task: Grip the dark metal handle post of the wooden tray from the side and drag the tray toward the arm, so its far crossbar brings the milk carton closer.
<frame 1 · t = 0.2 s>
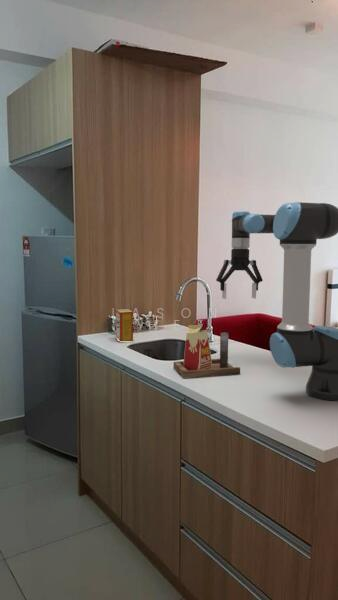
hand: (239, 298, 207), 27 cm above the worktop, tool pointing down, fingers open, 13 cm apart
baking soda box: (124, 341, 249), on the worktop
wooden tray: (206, 352, 193), point 8 cm above the worktop, slide at 0.2 cm
milk carton: (196, 372, 193), resting in wooden tray
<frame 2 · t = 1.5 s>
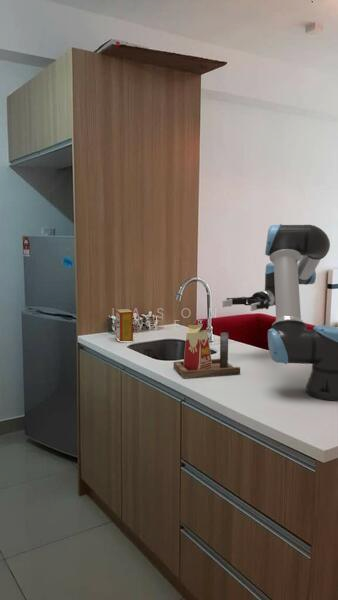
hand: (237, 305, 199), 25 cm above the worktop, tool horizontal, fingers open, 13 cm apart
nothing on the worktop moved.
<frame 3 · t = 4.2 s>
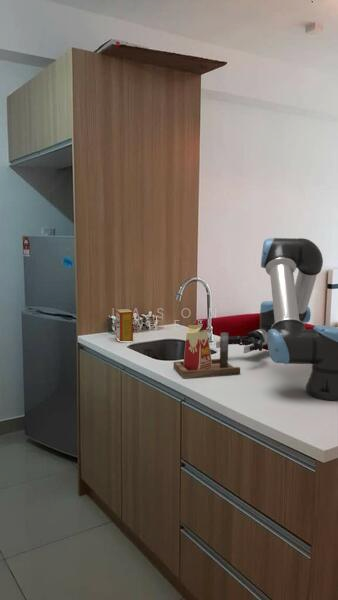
hand: (230, 347, 199), 8 cm above the worktop, tool horizontal, fingers open, 13 cm apart
nothing on the worktop moved.
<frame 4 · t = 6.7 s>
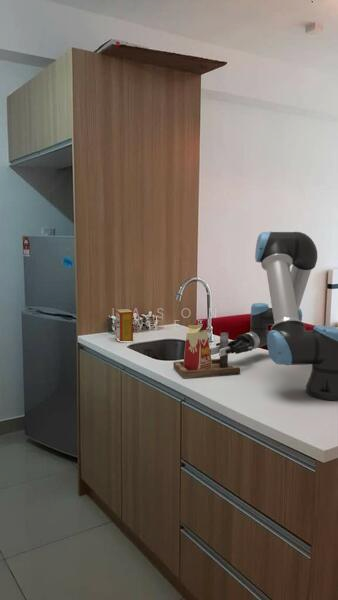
hand: (216, 352, 190), 9 cm above the worktop, tool horizontal, fingers closed on wooden tray, 3 cm apart
wooden tray: (206, 352, 193), point 8 cm above the worktop, slide at 0.1 cm, touching gripper
everything else where it was.
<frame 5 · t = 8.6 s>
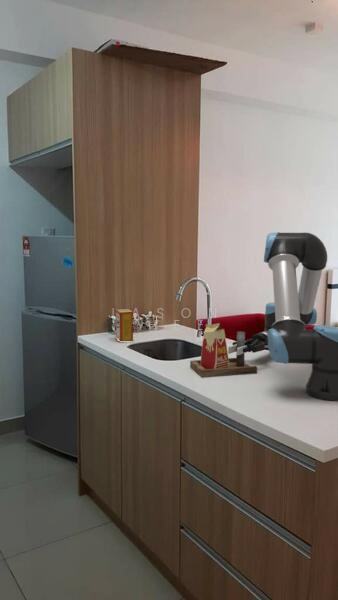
hand: (233, 350, 192), 9 cm above the worktop, tool horizontal, fingers closed on wooden tray, 3 cm apart
wooden tray: (223, 351, 195), point 8 cm above the worktop, slide at 7.3 cm, touching gripper, milk carton
milk carton: (213, 371, 194), resting in wooden tray
everything else where it was.
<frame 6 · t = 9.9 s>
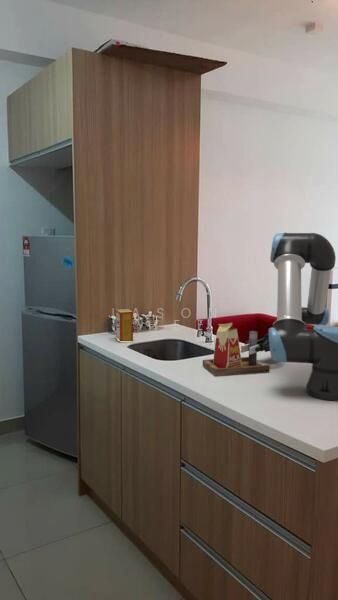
hand: (246, 350, 194), 9 cm above the worktop, tool horizontal, fingers closed on wooden tray, 3 cm apart
wooden tray: (235, 350, 196), point 8 cm above the worktop, slide at 12.7 cm, touching gripper, milk carton
milk carton: (226, 370, 196), resting in wooden tray
everything else where it was.
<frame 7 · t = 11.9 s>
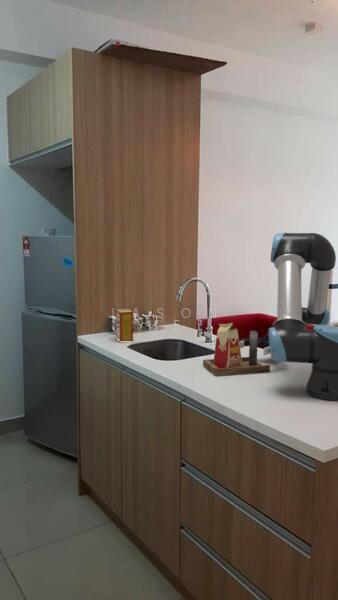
hand: (249, 349, 195), 8 cm above the worktop, tool horizontal, fingers open, 13 cm apart
wooden tray: (236, 350, 196), point 8 cm above the worktop, slide at 12.9 cm
milk carton: (226, 370, 196), resting in wooden tray
everything else where it was.
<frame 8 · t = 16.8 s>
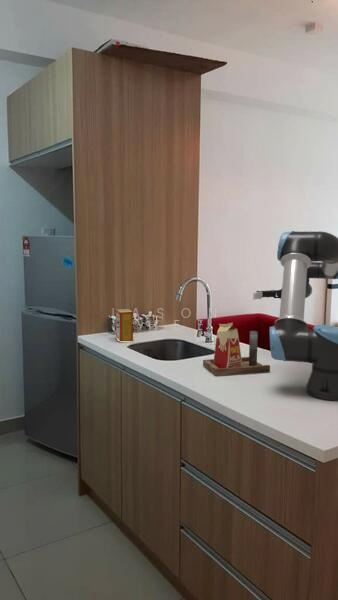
hand: (268, 297, 204), 28 cm above the worktop, tool horizontal, fingers open, 13 cm apart
nothing on the worktop moved.
at the end: wooden tray slide at 12.9 cm; milk carton inside the target area (1.2 cm from its centre), resting in wooden tray; milk carton tilted 0° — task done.
